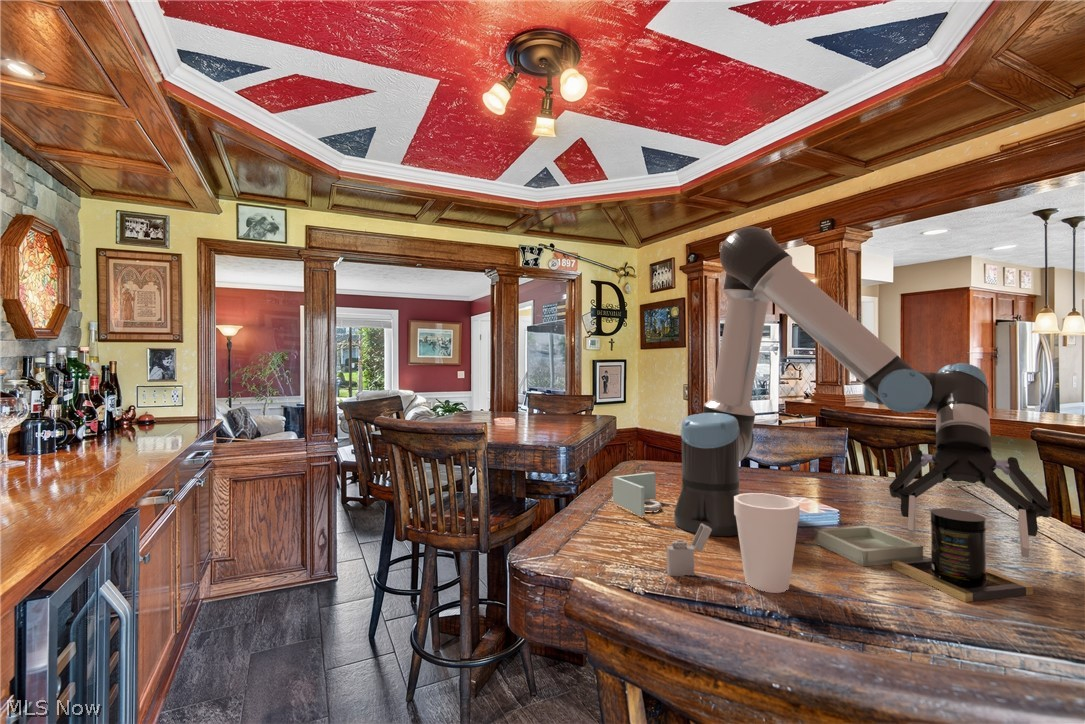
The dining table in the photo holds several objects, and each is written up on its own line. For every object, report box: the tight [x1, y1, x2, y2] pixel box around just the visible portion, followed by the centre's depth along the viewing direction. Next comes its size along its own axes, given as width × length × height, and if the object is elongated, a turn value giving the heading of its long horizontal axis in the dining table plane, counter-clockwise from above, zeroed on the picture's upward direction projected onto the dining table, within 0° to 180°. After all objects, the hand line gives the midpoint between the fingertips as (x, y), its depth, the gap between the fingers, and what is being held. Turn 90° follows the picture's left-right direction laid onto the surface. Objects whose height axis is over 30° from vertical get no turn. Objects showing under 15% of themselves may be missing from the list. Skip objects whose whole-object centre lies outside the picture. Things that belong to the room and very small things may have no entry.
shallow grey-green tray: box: [813, 525, 924, 567], centre depth 91 cm, size 12×12×2 cm
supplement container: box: [929, 508, 987, 589], centre depth 78 cm, size 7×7×10 cm
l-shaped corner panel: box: [612, 472, 663, 517], centre depth 119 cm, size 12×12×8 cm
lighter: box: [666, 523, 712, 577], centre depth 82 cm, size 7×2×8 cm, turn 92°
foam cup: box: [734, 492, 801, 594], centre depth 78 cm, size 10×9×13 cm
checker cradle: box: [891, 557, 1034, 603], centre depth 78 cm, size 12×12×1 cm
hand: (965, 542), depth 78 cm, fingers open, 13 cm apart
